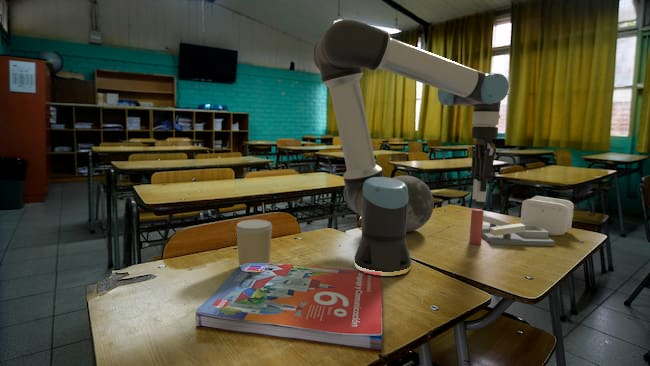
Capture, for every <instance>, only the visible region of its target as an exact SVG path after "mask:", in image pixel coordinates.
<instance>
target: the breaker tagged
mask: <svg viewBox="0 0 650 366" xmlns="http://www.w3.org/2000/svg"><path fill="white" fill-rule="evenodd" d="M490 231H491V234H493V235H494V236H497V235H504V234H511V233H518V232H526V231H525V225H523V224H521V223H520V222H518V223H513V224H509V225H504V226H498V225H497V227H490Z"/></svg>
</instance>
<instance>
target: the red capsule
mask: <svg viewBox="0 0 650 366" xmlns="http://www.w3.org/2000/svg"><path fill="white" fill-rule="evenodd" d="M483 214H484V209H480V208H473V209H471V213H470V215H471V216H470V226H469V227H470V229H469V244H471V245H474V246H475V245H476V246H479V245H480V246H481V245H482V238H483V237H482V226H483V223H484V221H483Z"/></svg>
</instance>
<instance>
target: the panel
mask: <svg viewBox="0 0 650 366" xmlns="http://www.w3.org/2000/svg"><path fill="white" fill-rule="evenodd" d="M497 226H498V225H494V224H491V223H489V225H486V224H485V225H483V226H482V238H483V240H486V242H488V243H489V244H490V245H493V246H494V245H496V246H497V245H499V246H503V245H505V246H538V247H539V246H541V247H542V246H543V247H546V246H547V247H555V246H556V245H555V244H556V241H555V240H553V239H551V238H550V237H549V234H548V233H549V232H548V231H546V230H544V229H542V228H540V227H538V226H536V225H525V231H526V232H518V233H511V234H504V235H497V236H494V235H493V234H491V231H490V227H497Z"/></svg>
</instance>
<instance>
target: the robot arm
mask: <svg viewBox="0 0 650 366" xmlns="http://www.w3.org/2000/svg"><path fill="white" fill-rule="evenodd" d="M312 58H313V62H314V64H315V66H316V68H317V69H318V70H319V73H320V78H321V81H322V84H323V85H324V86H326V87H327V88H328V89H329V92H330V94H329V95H330V97H331V102H332V107H333V111H334V117H335V122H336V125H337V130H338V135H339V139H340V144H341V148H342V149H341V150H342V154H343V157H344V161H345V167H346V171H345V172H344V174H343V175H342V178H343V181H344V188H343V197H344V200H345V203H346V204H347V206H348V207H349V209H350V210H352V211H353V212H354V213H356V214H357V215H358V216H360V217H361V238H360V241H359V243H358V247H357V249H356V252H355V255H354V260H353V261H355V263H356V264H357V265H358V266H360V267H362V268H366V269H369V270H375V271H382V272H394V271H400V270H404V269H407V268H409V267H410V265H411V266H412V258H411V255H410V251H409V248H408V245H407V244H408V243H407V239H406V238H407V232H406V224H407V207H408V188H407V186H406V184H405V183H403V182H402V181H400V180H397V179H392V178H393V177H385V176H384V172H383V168H382V167H381V166H380V165H378V164H377V162H376V159H375V155H374V154H375V153H374V148H373V144H372V139H371V134H370V133H371V132H370V128H369V124H368V119H367V114H366V113H367V112H366V109H365V104H364V99H363V93H362V89H361V85H360V80H361V79H362V77H363V75H364V70H363V69H367V70H370V71H374V72H375V71H378V70H379V69H380V70H384V71H386V72H389V73H392V74H395V75H397V76H399V77H400V76H401V77H404V78H407V79H410V80H411V81H415V82H418V83H421V84H423V85H427V86H429V87H432V88H435V89H437V99H438V102H439V103H440V104H441V105H443V106H450V107H451V106H466V107H468V106H470V107H473V112H472V121H471V124H472V125H473V126H472V127H471V139H476V141H475V145H472V146H471V170H470V171H471V172H470V173H471V174H470V175H471V177H472V178H473V185H472V193H471V194H472V197H471V198H472V200H475V202H479V203H480V202H484V203H486V201H487V200H486V199H487V189H488V182H489V181H492V176H493V168H494V161H495V155H496V152H497V149H496V148H493V141H492V140H497V139H498V135H499V128H498V125H499V121H500V119H501V115H500V113H501V111H500V110H501V103H502V101H503V100H505V99H506V97H507V96H508V93H509V90H510V84H509V80H508V78H507V77H506V76H505V75H503V74H502V73H500V72H499V73H498V72H496V73H495V72H490V73H485V72H483V71H479V70H477V69H474V68H471V67H468V66H466V65H463V64H460V63H458V62H455V61H452V60H450V59H447V58H445V57H442V56H439V55H437V54H434V53H432V52H429V51H426V50H424V49H421V48H419V47H415V46H414V45H410V44H408V43H405V42H403V41H400V40H398V39H394V38H392V37H391V35H390V33H389V31H386V30H384V29H381V28H379V27H376V26H373V25H370V24H368V23H364V22H362V21H359V20H355V19H340V20H337V21H336V22H333V23H332V24H331V25H329V27H327V29H326V30H325V31H323V32H322V33H321V34H320V36H318V38H317V39H316V41H315V44H314V46H313V51H312Z"/></svg>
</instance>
